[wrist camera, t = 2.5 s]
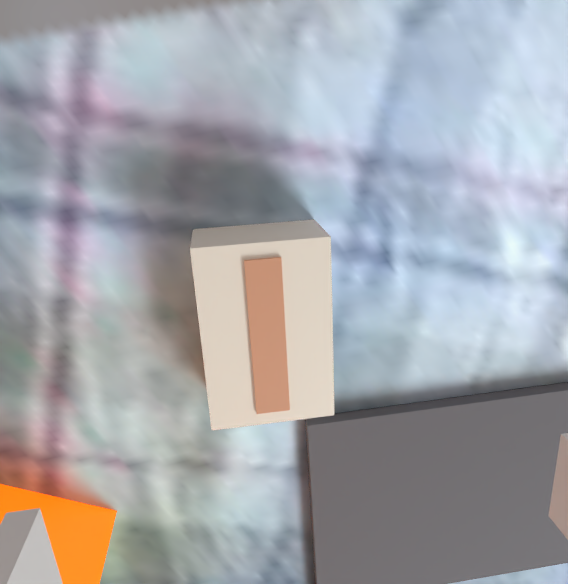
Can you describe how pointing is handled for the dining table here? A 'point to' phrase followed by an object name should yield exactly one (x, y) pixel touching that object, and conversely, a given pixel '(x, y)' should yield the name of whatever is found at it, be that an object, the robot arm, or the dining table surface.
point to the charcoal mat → (437, 488)
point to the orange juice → (67, 531)
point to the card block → (265, 321)
